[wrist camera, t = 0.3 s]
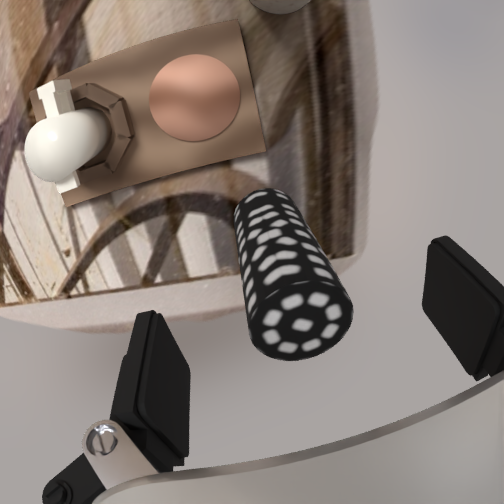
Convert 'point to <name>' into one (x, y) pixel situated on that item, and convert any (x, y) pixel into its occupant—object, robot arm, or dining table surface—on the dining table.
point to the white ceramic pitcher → (64, 137)
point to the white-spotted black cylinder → (287, 280)
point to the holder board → (166, 108)
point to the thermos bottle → (279, 5)
